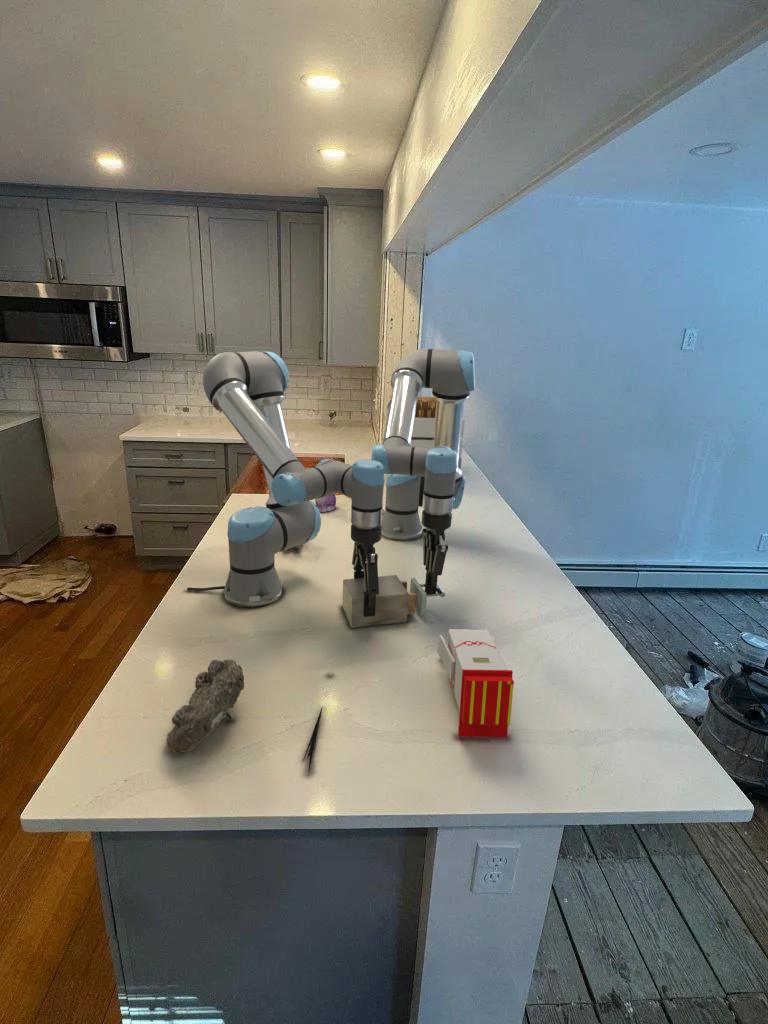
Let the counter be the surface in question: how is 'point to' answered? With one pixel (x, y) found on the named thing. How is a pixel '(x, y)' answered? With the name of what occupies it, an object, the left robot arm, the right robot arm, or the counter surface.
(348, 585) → the cabinet
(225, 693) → the fossil
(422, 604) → the drawer
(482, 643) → the toy
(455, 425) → the right robot arm
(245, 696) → the counter surface
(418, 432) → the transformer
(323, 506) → the figurine
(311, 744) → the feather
